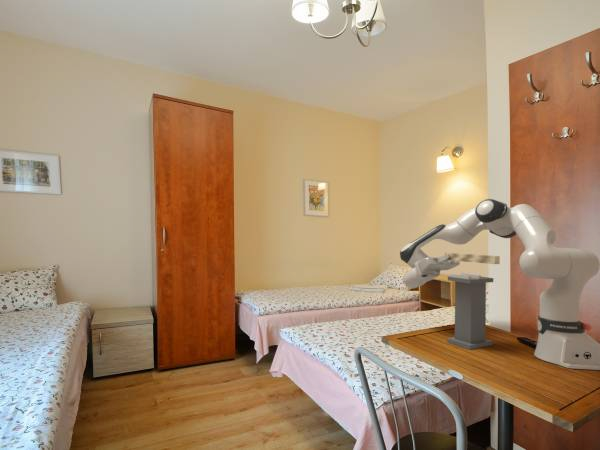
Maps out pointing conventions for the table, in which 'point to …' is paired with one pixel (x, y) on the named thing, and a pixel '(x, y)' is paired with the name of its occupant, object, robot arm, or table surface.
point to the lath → (474, 258)
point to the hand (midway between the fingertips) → (452, 255)
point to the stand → (470, 311)
